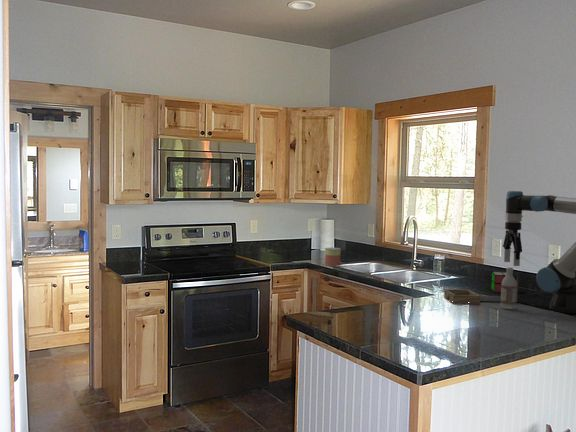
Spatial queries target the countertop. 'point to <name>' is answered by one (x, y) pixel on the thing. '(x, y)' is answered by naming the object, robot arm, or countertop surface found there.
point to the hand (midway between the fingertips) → (511, 263)
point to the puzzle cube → (497, 281)
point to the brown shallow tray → (462, 296)
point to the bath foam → (508, 290)
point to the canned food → (332, 256)
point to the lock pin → (495, 298)
